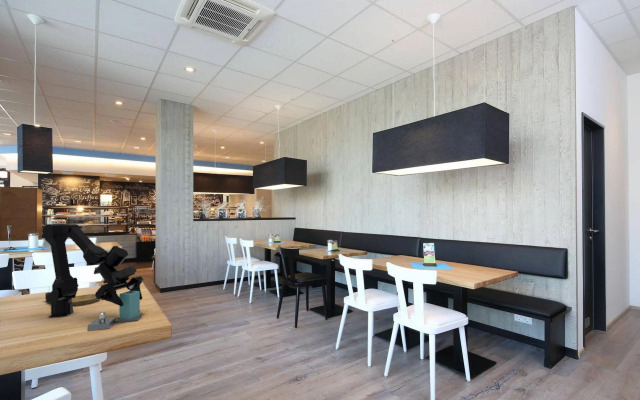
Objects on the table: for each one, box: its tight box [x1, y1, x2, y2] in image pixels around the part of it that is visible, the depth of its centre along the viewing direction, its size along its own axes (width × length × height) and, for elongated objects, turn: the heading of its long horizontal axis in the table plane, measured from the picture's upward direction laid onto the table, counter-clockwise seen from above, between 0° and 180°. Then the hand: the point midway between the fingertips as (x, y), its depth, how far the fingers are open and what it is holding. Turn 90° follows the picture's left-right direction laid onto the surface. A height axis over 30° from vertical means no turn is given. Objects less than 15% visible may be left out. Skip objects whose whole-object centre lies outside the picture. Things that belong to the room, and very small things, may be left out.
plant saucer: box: [71, 293, 99, 307], centre depth 157 cm, size 15×15×3 cm
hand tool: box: [44, 291, 51, 305], centre depth 157 cm, size 19×4×5 cm, turn 49°
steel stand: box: [87, 311, 117, 332], centre depth 121 cm, size 7×7×5 cm
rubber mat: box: [115, 313, 144, 324], centre depth 129 cm, size 8×8×1 cm
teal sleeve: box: [118, 290, 141, 320], centre depth 129 cm, size 5×5×10 cm
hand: (132, 302), depth 129 cm, fingers open, 9 cm apart
